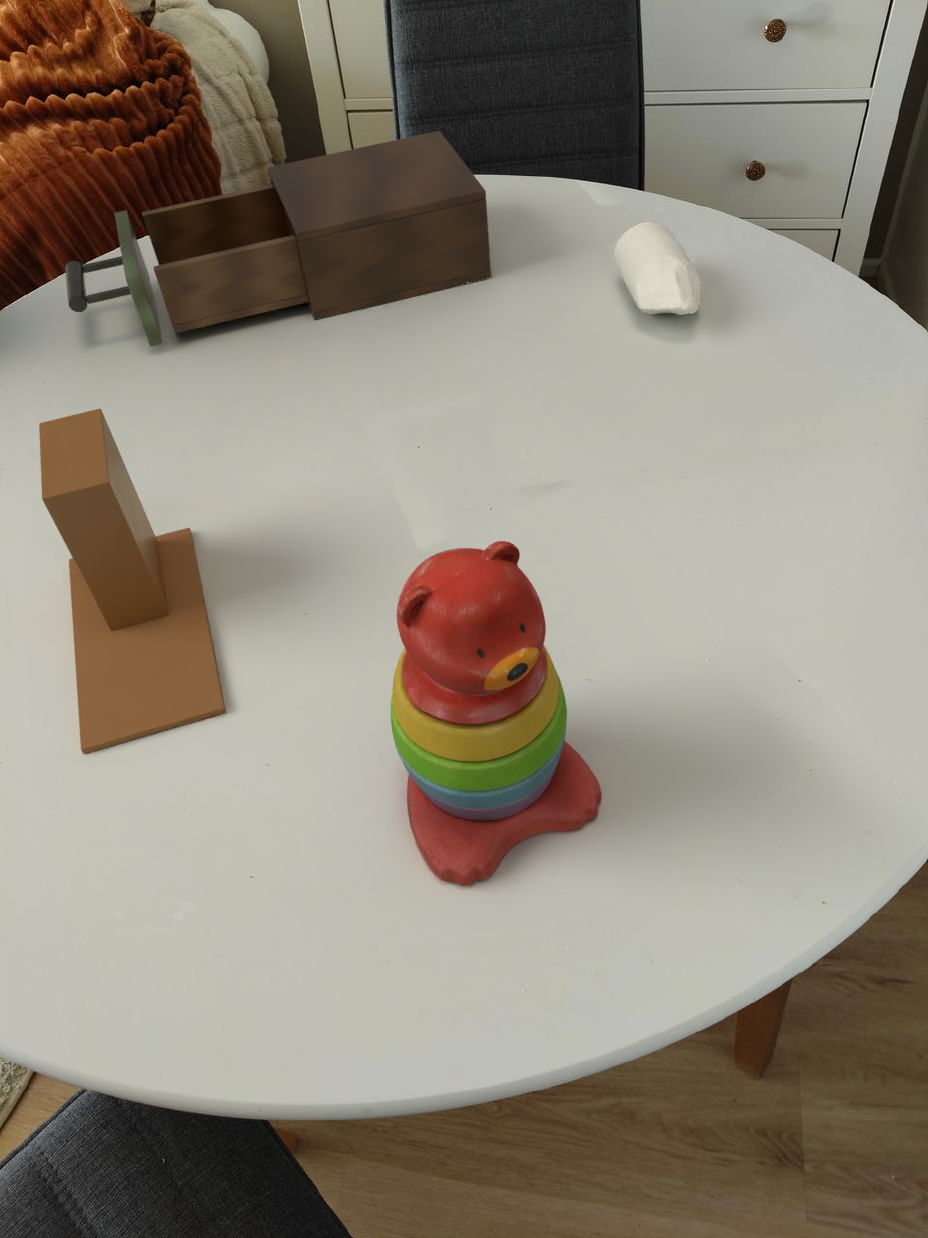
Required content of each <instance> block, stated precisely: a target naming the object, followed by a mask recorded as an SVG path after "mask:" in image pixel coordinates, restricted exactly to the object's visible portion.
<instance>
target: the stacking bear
mask: <svg viewBox="0 0 928 1238" xmlns="http://www.w3.org/2000/svg"><path fill="white" fill-rule="evenodd" d="M520 555H521V554H520V549H519V548H518V547H517V546H516V545H515V544H514V543H512V542H510V541H504V540H498V541H494V542H493V543H491V544H489V545H488V546H486V548H485V549H481V548H471V547H461V548H460V547H459V548H451V549H447V550H444V551H441V552H438V553H435V554H433V555H430V556H429V557H428V558H426V559H425V560H423V561H422V562H421V563H420V564H419V565H418V566H416V568H415V569H414V570H413V571H412V573H411V574H410V575H409V576H408V578H406V581H405V582H404V584H403V587H402V589H401V591H400V595H399V596H398V597H399V598H398V602H397V608H396V624H397V629H398V633H399V636H400V640H401V642H402V645H403V647H404V648H403V650H402V652H401V653H400V656H399V658H398V660H397V663H396V666H395V669H394V670H395V671H394V676H393V682H392V692H391V693H392V694H391V700H390V725H391V733H392V738H393V740H394V745H395V748H396V752H397V753H398V756H399V758H400V760H401V762H402V765H403V766H404V768H405V770H406V771H407V773H408V778H407V787H406V788H407V789H406V801H407V802H406V804H407V814H408V821H409V824H410V828H411V832H412V835H413V838H414V842H415V844H416V846H417V849H418V851H419V853H420V855H421V856H422V858H423V860H424V862H425V863H426V865H427V866H428V868H429V869H430V871H431V872H432V873H433V874H434V875H435V876H436V877H437V878H438V879H439V880H440V881H442V882H444V883H451V882H452V883H454V884H457V885H459V886H469V885H471V884H473V883H474V882H477V881H482V880H485V879H486V878H488V877H490V876H491V875H492V874H493V873H494V872H495V871H496V870H497V868H498V867H499V864H500V863H501V861H502V860H503V858H504V857H505V855H506V854H507V853H508V852H509V851H510V850H511V849H513V847H514V846H515V845H516V844H518V843H519V842H521V841H523V840H524V839H527V838H529V837H531V836H533V835H536V834H540V833H543V832H570V831H571V832H573V831H576V830H579V829H581V828H582V827H583V826H584V825H585V824H586V823H587V822H591V821H593V820H595V819H596V817H598V813H599V806H600V804H601V802H602V797H603V796H602V788H601V785H600V782H599V780H598V778H597V777H596V775H595V774H594V771H593V770H592V769H591V767H590V766H589V764H588V763H587V762H586V760H585V759H584V758H583V757H582V755H581V754H580V753H579V752H578V751H577V750H576V749H575V748H574V747H573V746H571V744H569V743H568V742H567V741H566V740H565V739H566V731H567V721H568V720H567V719H568V708H567V706H568V705H567V700H566V696H565V692H564V687H563V684H562V681H561V679H560V676H559V674H558V672H557V670H556V668H555V665H554V661H553V659H552V657H551V655H550V653H549V651H548V649H547V647H546V646H545V641H546V640H545V639H546V633H547V632H546V631H547V626H546V625H547V624H546V618H545V613H544V608H543V605H542V602H541V598H540V595H539V594H538V592H537V590H536V588H535V587H534V585H533V584H532V582H531V581H530V579H529V578H528V577H527V575H526V574H525V572H523V570H522V569H521V568H520V567H519V565H518V563H519V561H520Z"/></svg>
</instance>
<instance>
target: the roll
mask: <svg viewBox="0 0 928 1238" xmlns="http://www.w3.org/2000/svg"><path fill="white" fill-rule="evenodd" d="M613 262H614V266H615V267H616V269H617V271H618V272H619V274H620V276H621V277H622V280H623V283H625V286H626V287H627V289H628V291H629V293H630V295H631V298H632V299H633V301H634V302H635V304H636V306H637V307H638V309H639V310H640V311H641V312H642V313H645V314H647V315H659V314H676V315H678V316H682V315H686V314H687V315H688V314H694V313H696V312H698V309H699V308H698V307H699V304H700V303H701V296H702V289H703V288H702V281H701V278H700V277H699V274H698V272H697V271H696V269H695V267H694V266H693V264H692V262H691V260H690V257H689V256H688V253H687V251H686V250H685V248H684V247H683V246H682V244H681V243H680V242H679V241H678V240H677V238H676V236H674V234H673V232H672V231H671V230H670V229H669V228H668V227H666V226H665V225H663V224H661V223H658V222H654V221H644V222H641V223H638V224H636V225H634V226H632V227H631V228H628V230H626V231H625V232H624V233H623V234H622V236H621V237H619V239H618V240H617V243H616V245H615V248H614V250H613Z"/></svg>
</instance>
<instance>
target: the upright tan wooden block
mask: <svg viewBox="0 0 928 1238" xmlns="http://www.w3.org/2000/svg"><path fill="white" fill-rule="evenodd" d="M38 430H39V432H38V433H39V456H40V481H41V482H40V485H41V500H42V502H43V504H44V506H45V508H46V510H47V512H48V513H49V516H50V517H51V519H52V521H53V523H54V525H55V527H56V529H57V530H58V532H59V534H60V536H61V538H62V540H63V542H64V544H65V546H66V549H67V550H68V552H69V554H70V555H71V557H72V558H73V559H74V561H75V563H76V565H77V567H78V569H79V571H80V573H81V575H82V577H83V579H84V580H85V582H86V584H87V586H88V588H89V590H90V592H91V594H92V596H93V598H94V600H95V602H96V603H97V605H98V607H99V609H100V611H101V613H102V615H103V617H104V619H105V621H106V623H107V625H108V626H109V628H110V630H111V631H113V630H117V629H120V628H124V627H127V626H131V625H135V624H138V623H142V622H145V621H149V620H153V619H156V618H160V617H164V616H167V615H168V607H167V601H166V594H165V588H164V581H163V575H162V569H161V562H160V556H159V549H158V543H157V539H156V537H155V536H156V534H155V532H154V529H153V528H152V525H151V523H150V521H149V518H148V516H147V514H146V511H145V509H144V507H143V504H142V502H141V500H140V497H139V495H138V492H137V490H136V488H135V485H134V483H133V481H132V478H131V476H130V474H129V471H128V469H127V466H126V464H125V461H124V459H123V457H122V455H121V452H120V450H119V447H118V446H117V443H116V440H115V438H114V436H113V434H112V431H111V429H110V427H109V424H108V422H107V419H106V417H105V415H104V412H103V410H102V409H101V408H96V409H92V410H88V411H84V412H80V413H75V414H72V415H67V416H62V417H58V418H55V419H51V420H47V421H43V422H39V423H38Z"/></svg>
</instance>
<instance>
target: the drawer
mask: <svg viewBox="0 0 928 1238" xmlns="http://www.w3.org/2000/svg"><path fill="white" fill-rule="evenodd" d="M141 215H142V218H143V222H144V224H145V227H146V231H147V233H148V237H149V240H150V243H151V245H152V249H153V252H154V255H155V257H156V262H157V264H158V265H154V266H153V271H154V274H155V277H156V280H157V283H158V287H159V290H160V292H161V295H162V298H163V301H164V304H165V308H166V310H167V313H168V317H169V319H170V322H171V325H172V328H173V331H174V333H175V334H178V333H182V332H186V331H191V330H196V329H201V328H204V327H209V326H213V325H217V324H221V323H226V322H229V321H234V320H237V319H241V318H246V317H251V316H254V315H259V314H263V313H267V312H271V311H276V310H280V309H284V308H288V307H293V306H297V305H302V304H307V302H310V300H309V295H308V291H307V286H306V281H305V277H304V272H303V267H302V263H301V258H300V253H299V249H298V244H297V239H296V236H295V234H294V231H293V229H292V227H291V224H290V222H289V220H288V218H287V215H286V213H285V211H284V208H283V206H282V204H281V201H280V199H279V197H278V194H277V192H276V190H275V188H274V185H273V184H271V183H270V184H266V185H260V186H257V187H251V188H247V189H243V190H237V191H235V192H234V191H233V192H229V193H228V192H227V193H224V194H219V195H215V196H211V197H205V198H201V199H196V200H192V201H187V202H182V203H178V204H173V205H169V206H164V207H160V208H155V209H150V210H145V211H142V212H141ZM114 218H115V225H116V230H117V236H118V242H119V248H120V254H121V255H120V256H117V257H112V258H107V259H102V260H98V261H94V262H89V263H85V264H81V262H79V261H76V260H70V261H68V262H67V263H66V264H65V267H64V269H65V280H66V293H67V303H68V304H67V305H68V307H69V309H70V310H71V311H73V312H75V313H83V312H85V311H86V310H87V308H88V305H90V304H94V303H100V302H103V301H104V302H105V301H108V300H112V299H116V298H120V297H125V296H130V295H131V298H132V300H133V304H134V306H135V309H136V311H137V315H138V317H139V320H140V323H141V326H142V328H143V331H144V334H145V337H146V340H147V342H148V345H149V347H153V346H159V345H162V344H164V343H163V336H162V333H161V328H160V322H159V318H158V313H157V307H156V303H155V297H154V293H153V292H154V291H153V288H152V283H151V278H150V274H149V271H148V268H147V265H146V262H145V259H144V256H143V254H142V250H141V248H140V244H139V242H138V238H137V235H136V233H135V230H134V226H133V223H132V221H131V219H130V215H129V212H128V210H127V209H125V210H122V211H116V212H114ZM119 266H123V272H124V276H125V282H126V284H127V285H126V286H122V287H117V288H113V289H109V290H105V291H99V292H94V293H91V294H87V288H86V279H85V274H87V273H93V272H96V271H101V270H106V269H110V268H114V267H119Z"/></svg>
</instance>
